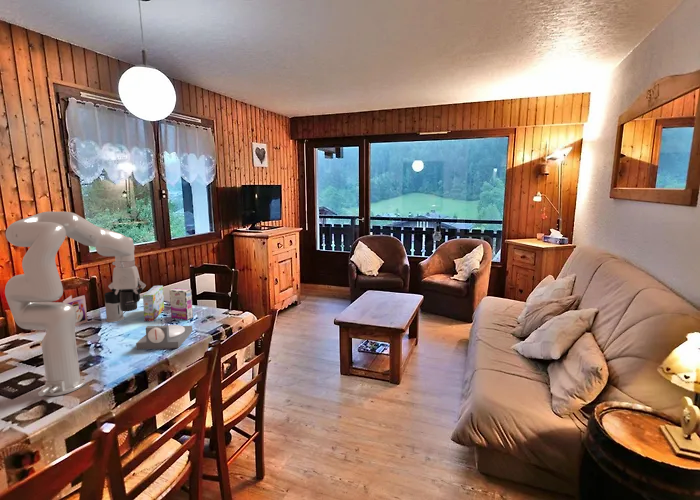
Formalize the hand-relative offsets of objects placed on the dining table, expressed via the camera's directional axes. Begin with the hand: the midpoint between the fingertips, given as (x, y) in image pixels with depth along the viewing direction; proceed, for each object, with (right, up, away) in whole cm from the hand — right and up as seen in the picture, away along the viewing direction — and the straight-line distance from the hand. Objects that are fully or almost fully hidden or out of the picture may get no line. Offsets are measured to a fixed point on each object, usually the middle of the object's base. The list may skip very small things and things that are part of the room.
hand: (128, 301), depth 169 cm
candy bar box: (+9, -14, +36) cm, 39 cm away
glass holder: (-24, -15, +32) cm, 43 cm away
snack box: (-9, -14, +40) cm, 43 cm away
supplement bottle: (0, -4, +1) cm, 4 cm away
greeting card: (-43, -16, +23) cm, 52 cm away
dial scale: (+15, -19, +5) cm, 25 cm away
